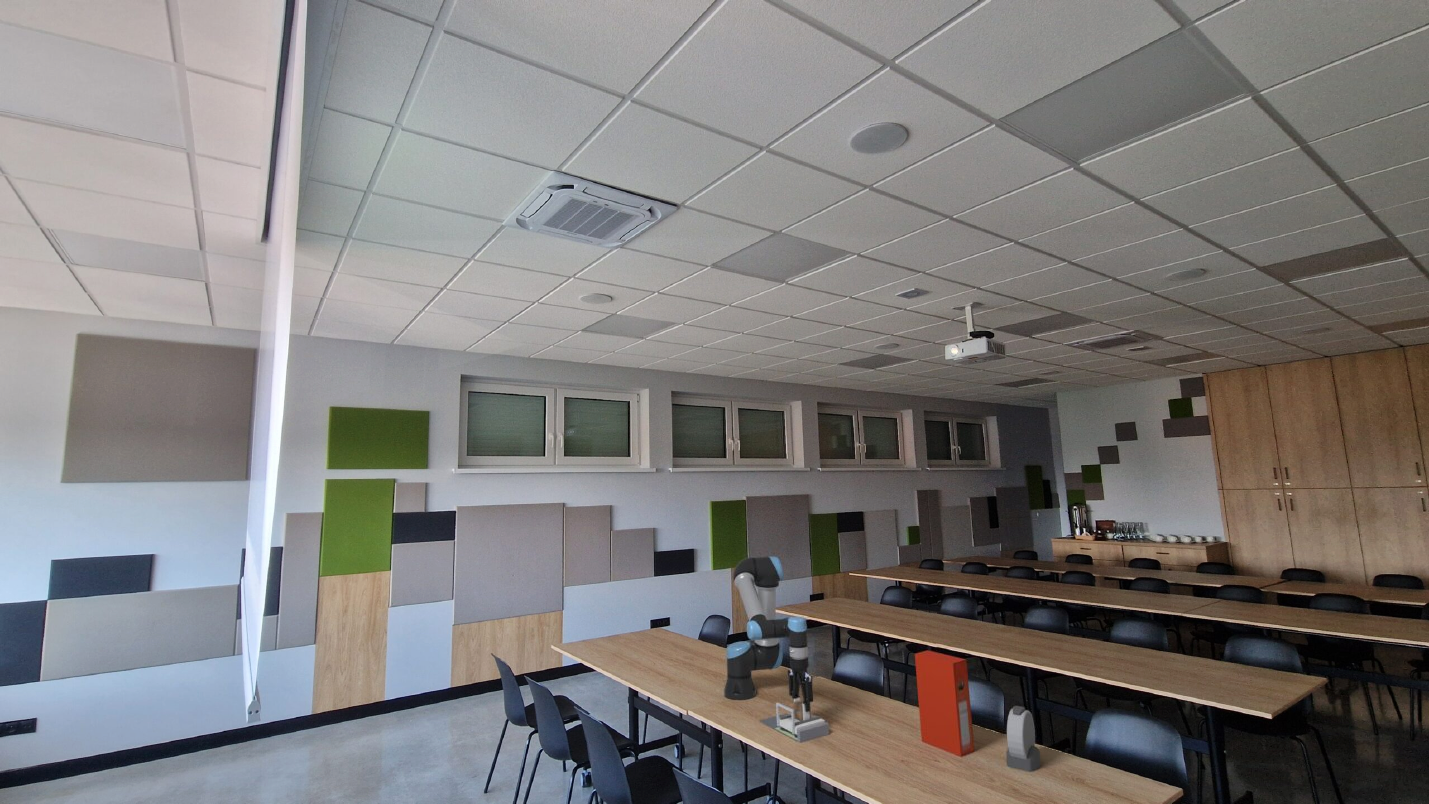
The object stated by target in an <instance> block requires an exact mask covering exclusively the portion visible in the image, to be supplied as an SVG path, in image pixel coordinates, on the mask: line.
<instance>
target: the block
mask: <svg viewBox="0 0 1429 804" xmlns="http://www.w3.org/2000/svg"><path fill="white" fill-rule="evenodd" d="M802 702H804V700H803V699H800V701H796V702H793V701H792V709H793V710H794V717H795V719H797V720H799V721H803V703H802ZM809 712H810V719H811V714H812V711H811V708H810V711H809Z"/></svg>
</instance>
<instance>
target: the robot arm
mask: <svg viewBox="0 0 1429 804" xmlns="http://www.w3.org/2000/svg"><path fill="white" fill-rule="evenodd" d="M732 580H733V585H734V586H735V587H736V588H737V589H738V592H739V595H740V598H741V601H742V604H743V608H744V610H745V613H746V616H747V619H748V621H747V623H746V633H747V634H746V635H747V638H748V639H749V640H751V641H754V644H751V642H750V641H746V640H745V641H736V642H733V643H731V644H729V645H727V647H726V655H725V656H726V673H727V674H726V681H725V686H724V690H723V695H724V697H725V698H727V699H730V700H736V701H737V700H738V701H740V700H744V701H745V700H749V699H752V698H754V697H756V695H757V690H756V686H755V684H754V680H753V678H752V677H753V675H752V672H753V671H765V670H766V671H767V670H770V671H772V670H774V669H778V668H779V667H780V666H781V665H782V662H783V655H784V653H783V645H782V644H781V643H780V642H779V639H782V638H783V639H784V638H788V646H789V647H788V648H789V657H790V658H789V666H790V668H791V669H789V670H787V671H786V672H787V675H788V694H789V697H791V699H792V703H793V702H796V701H800V700H801V698H800V695H799V694H800V689H801V693H802V694H801V695H802V700H804V702H802V703H803V720H807V719H810V712H809V711H810V709H811V703H813V702H814V693H813V690H814V688H813V680H814V679H813V678H814V677H813V676H812V675H809V673H808V668H809V658H808V657H809V649H808V625H807V620H806V618H805V617H803V616H791V617H789V616H784V617H781V618H777V619H776V617H777V616H776V608H777V607H776V605H777V604H776V603H777V602H776V601H777V596H776V593H777V591H776V589H778V588H779V586H780V582H783V580H784V571H783V565H782V562H781V561H780V559H779V558H778V557H777V556H769V555H767V556H756V557H751V556H750V557H746V558H743V559H741V560H740V561H739V562H738V563H737V564H736V566H735V567H734V570H733V574H732ZM756 588H757V589H756Z"/></svg>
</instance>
